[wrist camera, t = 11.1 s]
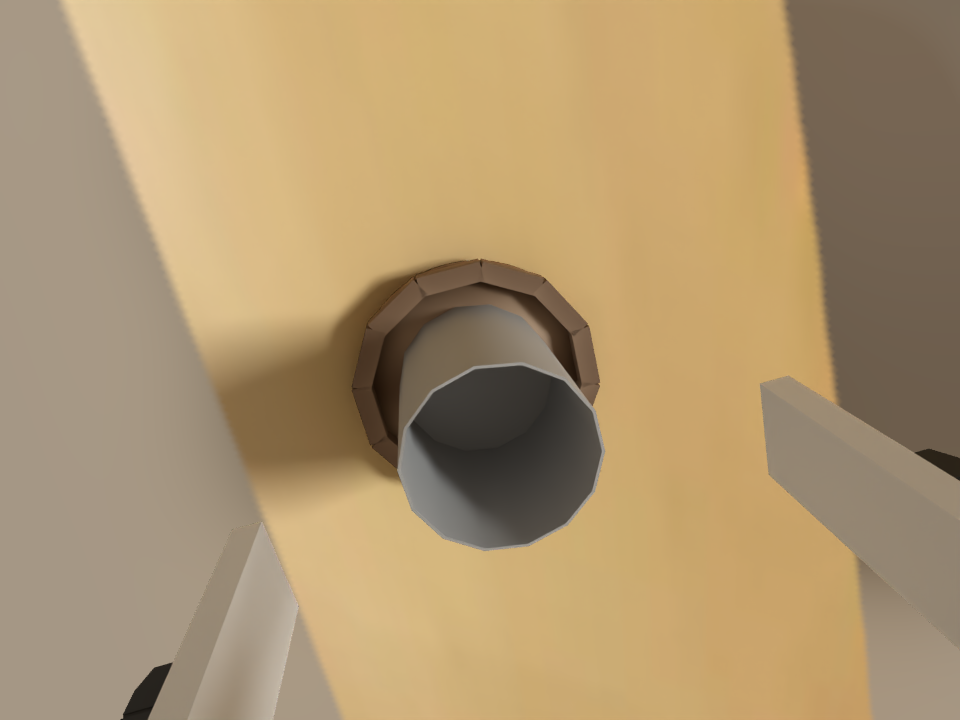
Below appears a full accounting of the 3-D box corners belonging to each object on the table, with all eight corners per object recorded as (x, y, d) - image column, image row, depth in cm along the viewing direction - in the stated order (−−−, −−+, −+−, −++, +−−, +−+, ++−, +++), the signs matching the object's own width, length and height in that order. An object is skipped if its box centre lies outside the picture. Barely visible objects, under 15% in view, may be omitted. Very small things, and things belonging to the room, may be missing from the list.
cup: (492, 472, 37) (521, 581, 27) (371, 400, 35) (358, 491, 25) (580, 356, 35) (644, 430, 26) (459, 273, 33) (481, 320, 24)
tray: (326, 295, 33) (322, 303, 32) (563, 233, 34) (571, 237, 32) (395, 503, 38) (395, 519, 36) (605, 445, 38) (614, 459, 36)
